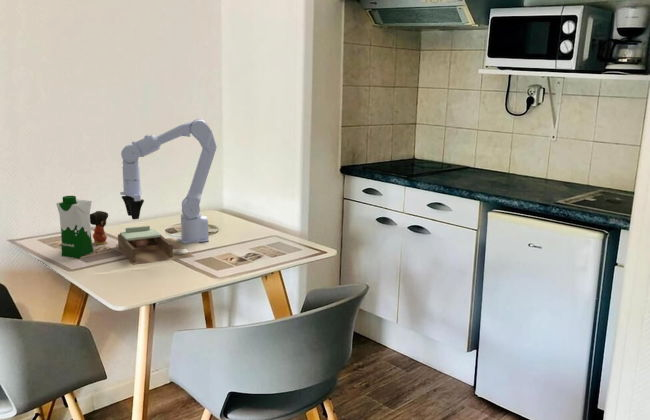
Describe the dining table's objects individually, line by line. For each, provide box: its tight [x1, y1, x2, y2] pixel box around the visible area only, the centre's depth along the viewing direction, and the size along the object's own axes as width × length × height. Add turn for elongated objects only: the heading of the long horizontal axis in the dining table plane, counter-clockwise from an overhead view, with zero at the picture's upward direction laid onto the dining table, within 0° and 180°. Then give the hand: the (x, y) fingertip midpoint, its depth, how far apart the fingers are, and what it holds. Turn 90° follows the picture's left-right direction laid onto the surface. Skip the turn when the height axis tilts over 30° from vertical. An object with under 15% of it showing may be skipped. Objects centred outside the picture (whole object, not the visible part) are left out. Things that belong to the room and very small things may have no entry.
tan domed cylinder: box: [133, 238, 148, 248], centre depth 205 cm, size 5×5×4 cm
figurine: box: [90, 210, 109, 246], centre depth 208 cm, size 6×6×12 cm
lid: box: [119, 225, 162, 241], centre depth 204 cm, size 12×9×2 cm
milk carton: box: [55, 195, 94, 259], centre depth 195 cm, size 9×9×20 cm
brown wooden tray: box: [115, 233, 195, 266], centre depth 202 cm, size 20×25×5 cm
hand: (133, 217), depth 211 cm, fingers open, 5 cm apart
